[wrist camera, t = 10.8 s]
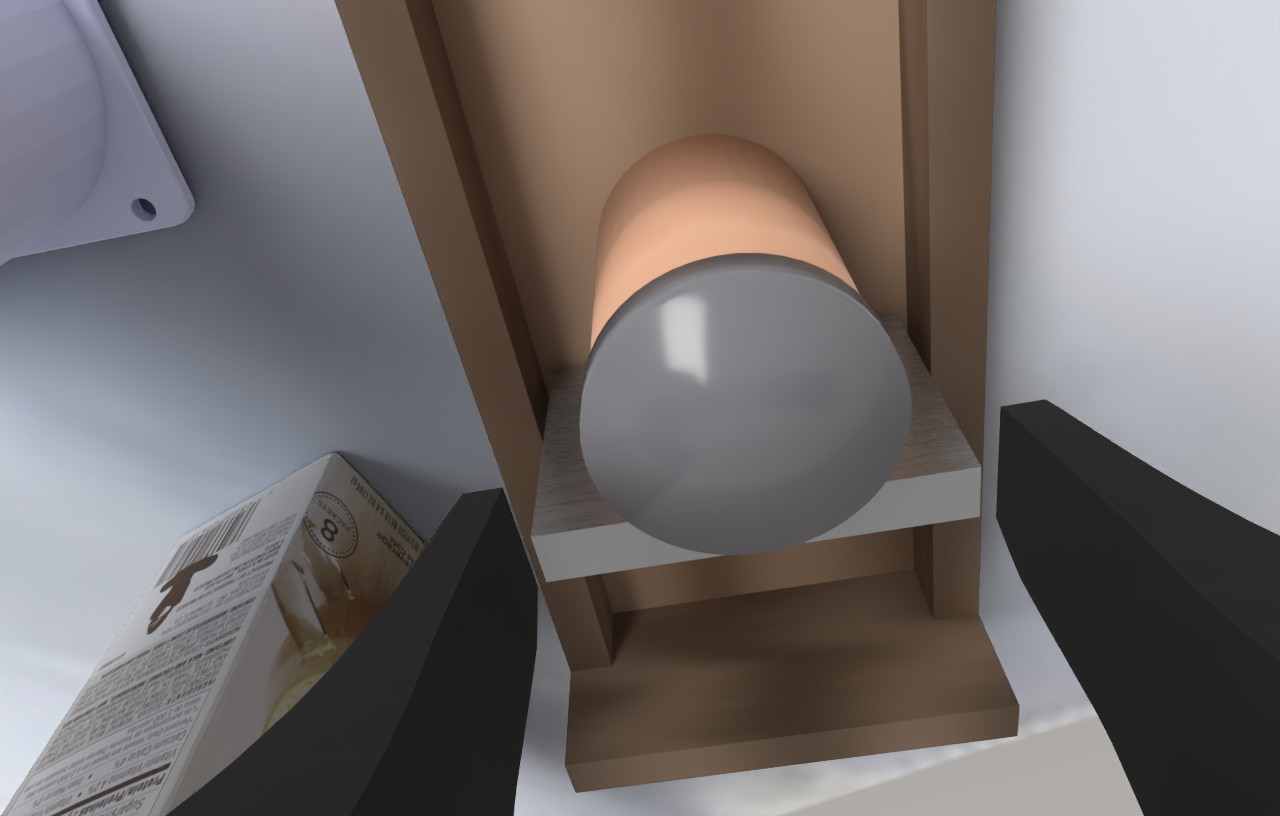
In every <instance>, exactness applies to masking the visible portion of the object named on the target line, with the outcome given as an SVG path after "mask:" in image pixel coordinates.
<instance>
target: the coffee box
mask: <svg viewBox="0 0 1280 816" xmlns="http://www.w3.org/2000/svg"><path fill="white" fill-rule="evenodd" d="M426 546H427V545H426V544H425V543H424V542H423V541H422V540H421V539H420V538H419V537H418V536H417V535H416V534H415V533H414V532H413V531H412V530H411V529H410V527H409V526H408V525H407V524H406V523H405V522H404V521H403V520H402V519H401V518H400V517H399V516H398V515H397V514H396V513H395V512H394V511H393V510H392V509H391V508H390V507H389V506H388V504H387V503H386V502H385V501H384V500H383V499H382V498H381V497H380V496H379V495H378V494H377V493H376V492H375V491H374V490H373V489H372V488H371V487H370V485H369V484H368V483H367V482H366V481H365V480H364V479H363V478H362V477H361V476H360V475H359V474H358V473H357V472H356V471H355V470H354V469H353V468H352V467H351V466H350V465H349V464H348V463H347V462H346V461H345V460H344V459H343V458H342V457H341V456H340V455H339V454H337V453H329V454H327V455H325V456H323V457H321V458H319V459H317V460H315V461H313V462H312V463H310V464H308V465H307V466H305V467H303V468H301V469H300V470H298V471H296V472H294V473H293V474H291V475H289V476H287V477H286V478H284V479H282V480H280V481H279V482H277V483H275V484H273V485H272V486H270V487H268V488H266V489H265V490H263V491H261V492H259V493H258V494H256V495H254V496H252V497H251V498H249V499H247V500H245V501H243V502H241V503H240V504H238V505H236V506H234V507H233V508H231V509H229V510H227V511H226V512H224V513H222V514H220V515H219V516H217V517H215V518H213V519H212V520H210V521H208V522H206V523H205V524H203V525H201V526H200V527H198V528H196V529H194V530H193V531H191V532H189V533H187V534H186V535H184V536H182V537H181V538H180V539H179V540H178V541H177V543H176V544H175V546H174V547H173V549H172V550H171V552H170V554H169V555H168V557H167V558H166V560H165V562H164V563H163V565H162V566H161V568H160V570H159V571H158V573H157V575H156V576H155V578H154V579H153V581H152V582H151V584H150V585H149V587H148V588H147V590H146V592H145V593H144V595H143V596H142V598H141V600H140V601H139V603H138V604H137V606H136V608H135V609H134V611H133V612H132V613H131V615H130V616H129V618H128V619H127V621H126V622H125V624H124V625H123V627H122V629H121V630H120V632H119V633H118V635H117V637H116V638H115V640H114V641H113V643H112V644H111V646H110V647H109V649H108V650H107V652H106V653H105V655H104V656H103V658H102V659H101V661H100V662H99V664H98V665H97V667H96V669H95V670H94V672H93V674H92V675H91V677H90V678H89V680H88V682H87V683H86V684H85V686H84V687H83V689H82V690H81V692H80V694H79V695H78V697H77V698H76V700H75V701H74V703H73V704H72V706H71V707H70V709H69V711H68V712H67V714H66V715H65V717H64V719H63V720H62V722H61V723H60V725H59V726H58V728H57V729H56V731H55V732H54V734H53V735H52V737H51V739H50V740H49V742H48V744H47V745H46V747H45V748H44V750H43V751H42V753H41V754H40V756H39V757H38V759H37V761H36V762H35V764H34V765H33V767H32V768H31V770H30V771H29V773H28V775H27V776H26V778H25V780H24V781H23V783H22V784H21V785H20V787H19V788H18V790H17V791H16V793H15V794H14V796H13V798H12V799H11V801H10V803H9V804H8V806H7V807H6V809H5V810H4V812H3V813H2V815H1V816H165V815H167V814H168V813H169V812H171V811H172V810H173V809H175V808H176V807H177V806H178V805H180V804H181V803H182V802H184V801H185V800H186V799H187V798H189V797H190V796H191V795H193V794H194V793H195V792H196V791H198V790H199V789H200V788H202V787H203V786H204V785H205V784H206V783H208V782H209V781H210V780H211V779H213V778H214V777H215V776H216V775H217V774H219V773H220V772H221V771H222V770H223V769H225V768H226V767H227V766H228V765H229V764H231V763H232V762H233V761H234V760H235V759H237V758H238V757H239V756H240V755H241V754H242V753H243V752H244V751H245V750H247V749H248V748H249V747H250V746H251V745H252V744H253V743H254V742H255V741H256V740H257V739H259V738H260V737H261V736H262V735H263V734H264V733H265V732H266V731H267V730H268V729H269V728H271V727H272V726H273V725H274V724H275V723H276V722H277V721H278V720H279V719H280V718H281V717H283V716H284V715H285V714H286V713H287V712H288V711H289V710H290V709H291V708H292V707H293V706H294V705H295V704H296V703H297V702H298V701H299V700H300V699H301V698H302V697H303V696H304V695H305V694H306V693H307V692H308V691H309V690H310V689H311V688H312V687H313V686H314V685H315V684H316V683H317V682H318V681H319V680H320V679H321V678H322V676H323V675H324V674H325V673H326V672H327V671H328V670H329V669H330V668H331V667H332V666H333V665H334V664H335V662H336V661H337V660H338V659H339V658H340V657H341V656H342V655H343V653H344V652H345V651H346V650H347V649H348V648H349V647H350V645H351V644H352V643H353V642H354V641H355V639H356V638H357V637H358V636H359V634H360V633H361V632H362V631H363V629H364V628H365V627H366V626H367V624H368V623H369V622H370V621H371V620H372V618H373V617H374V616H375V615H376V613H377V612H378V611H379V610H380V608H381V607H382V606H383V605H384V603H385V602H386V601H387V600H388V598H389V597H390V596H391V594H392V593H393V591H394V590H395V589H396V587H397V586H398V585H399V583H400V582H401V580H402V579H403V578H404V576H405V575H406V574H407V572H408V571H409V570H410V568H411V567H412V565H413V564H414V563H415V561H416V560H417V558H418V557H419V556H420V554H421V553H422V551H423V550H424V548H425V547H426Z"/></svg>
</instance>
